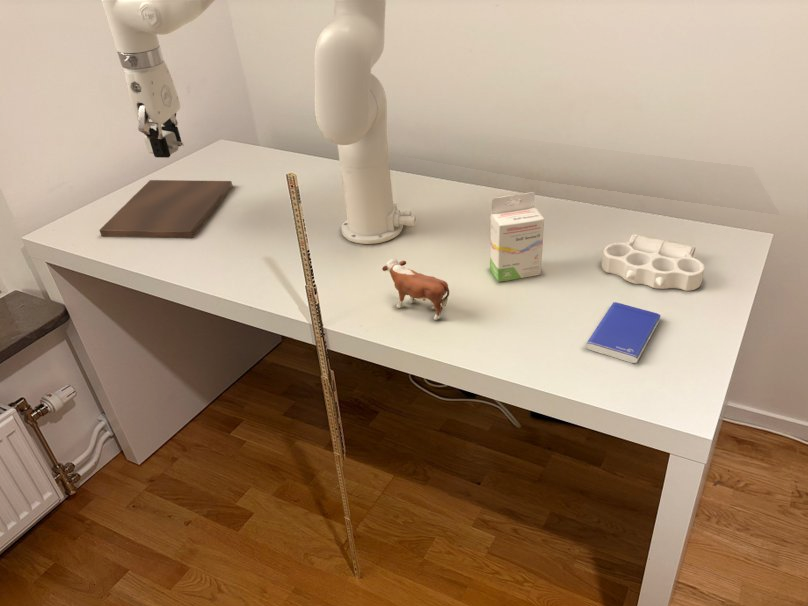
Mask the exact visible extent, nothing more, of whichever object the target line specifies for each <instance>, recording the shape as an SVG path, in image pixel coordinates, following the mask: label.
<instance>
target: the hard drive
mask: <svg viewBox="0 0 808 606" xmlns="http://www.w3.org/2000/svg"><path fill="white" fill-rule="evenodd" d="M660 321H661V314H659V313H657V312H654V311H650V310H646V309H642V308H639V307H635V306H631V305H628V304H624V303H620V302H616V301H613V302H612V304H611V305H610V307H609V308H608V310H607V311H606V313H605V314H604V316H603V317H602V319H601V321H600V322H599V323H598V325H597V326H596V328H595V330H594V331H593V332H592V334H591V336H590V337H589V338H588V340H587V341H586V346H585V348H586V349H587V350H589V351H592V352H595V353H598V354H602V355H605V356H608V357H612V358H615V359H618V360H621V361H625V362H627V363H632V364H637V363H638V361H639V359H640V358H641V355H642V354H643V352H644V350H645V348H646V347H647V344H648V342H649V341H650V339H651V337H652V335H653V333H654V332H655V330H656V328H657V326H658V324H659V322H660Z"/></svg>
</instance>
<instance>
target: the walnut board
mask: <svg viewBox="0 0 808 606" xmlns="http://www.w3.org/2000/svg"><path fill="white" fill-rule="evenodd" d="M232 182H233V181H232V180H188V179H187V180H186V179H185V180H182V179H181V180H177V179H176V180H175V179H173V180H172V179H171V180H170V179H149V180H148V182H146V184H145V185H143V186H142V187H141V188H140V189H139V191H137V192H136V193H135V194H134V195H132V197H131V198H130V199H129V200H128V201H127V202H126V203H125V204H124V205H123V206H122V207H121V208H120V209H119V210H118V211H117V212H116V213H115V214H114V215H113V216H112V217H111V218H110V219H109V220H108V221H107V222H105V224H104V225H103V226H102V227H101V228H100V229H99V230H98V231H99V233H100V236H101V237H122V238H163V239H164V238H169V239H193V238H194V237H195V235H196V234H197V233H198V232H199V231H200V229H201V228H202V227H203V225H204V224H205V223H206V222H207V220H209V218H210V217H211V215H212V214H213V213H214V211H215V210H216V209H217V208H218V206H219V205H220V204H221V203H222V201H223V200H224V199H225V198H226V196H227V195H228V193H230V191H231V190H232V188H233V187H234V186H233V183H232Z"/></svg>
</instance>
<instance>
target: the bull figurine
mask: <svg viewBox="0 0 808 606" xmlns="http://www.w3.org/2000/svg"><path fill="white" fill-rule="evenodd" d="M406 264H407V260H401V261H398V260H397V259H396V258H392V259H389V260H388V261H387V262H386V265H384V266H382V268H381V270H382V271H383V272H386V271H387V272H388V273H389V274H390V277H391V279H392V281H393V283H394V288H395V289H396V290H397V292H398V303H397V304H396V305H395V308H396V309H397V310H399V309H402V308H403V307H404V303H403V302H404V300H405V297H406V296H409V297H410V300H409V304H410V305H411V304H414V303H416V302H417V300H422V301H423V302H426V300H429V301H430V302H431V303H432V306H430V310H432V311H434V310H435V315H434V317H433V318H432V319H433V320H434V321H438V320H439V319H441V317H442V316H441V312H442V311H443V308H445V307H446V306H447V303H448V297H450V289H449V284H448V282H447V281H445V280H443V279H440V278H438V277H437V278H436V277H435V276H433V275H431V276H430V275H425V274H423V273H420V272H416V271H415V270H413V269H410V268H406V267H405V265H406ZM444 296H445V297H444Z"/></svg>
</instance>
